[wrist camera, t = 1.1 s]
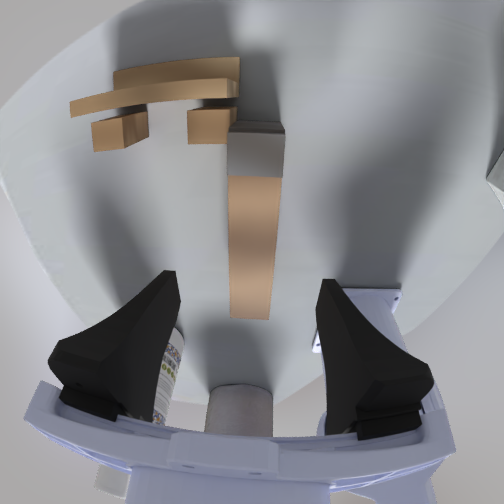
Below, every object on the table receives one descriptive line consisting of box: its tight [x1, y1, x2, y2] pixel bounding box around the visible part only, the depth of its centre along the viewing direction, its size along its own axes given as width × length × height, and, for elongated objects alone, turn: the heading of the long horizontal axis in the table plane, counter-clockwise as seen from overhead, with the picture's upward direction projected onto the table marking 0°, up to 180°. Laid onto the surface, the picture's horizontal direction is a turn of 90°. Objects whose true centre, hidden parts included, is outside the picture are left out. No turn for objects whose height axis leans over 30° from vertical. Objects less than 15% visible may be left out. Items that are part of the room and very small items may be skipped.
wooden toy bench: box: [70, 57, 240, 152], centre depth 14 cm, size 6×9×6 cm, turn 88°
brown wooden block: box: [227, 120, 285, 320], centre depth 19 cm, size 14×3×5 cm, turn 178°
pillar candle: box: [204, 384, 273, 437], centre depth 31 cm, size 10×10×15 cm
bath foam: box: [94, 328, 184, 499], centre depth 22 cm, size 7×7×20 cm
